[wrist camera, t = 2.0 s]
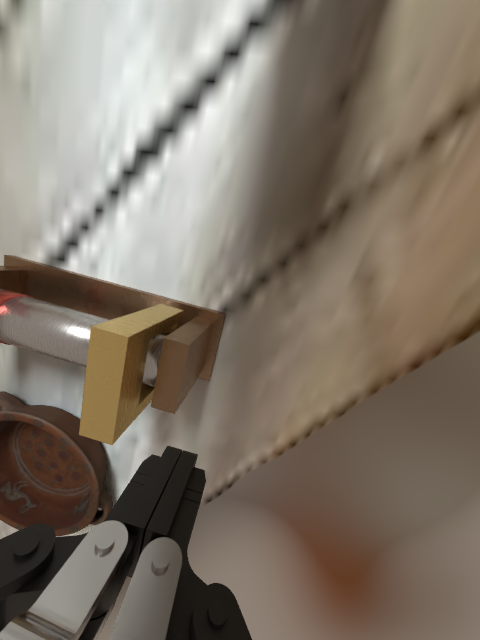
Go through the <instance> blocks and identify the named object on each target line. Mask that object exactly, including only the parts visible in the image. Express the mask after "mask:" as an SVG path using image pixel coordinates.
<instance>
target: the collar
mask: <svg viewBox="0 0 480 640" xmlns="http://www.w3.org/2000/svg"><path fill="white" fill-rule="evenodd" d="M183 311H184V310H181V309H177V308H174V307H170V306H166V305H163V304H159V305H156V306H153V307H150V308H147V309H144V310H140V311H137V312H134V313H131V314H128V315H125V316H122V317H119V318H116V319H112V320H109V321H106V322H103V323H100V324H97V325H94V326H91V330H90V339H89V348H88V357H87V366H86V375H85V384H84V393H83V402H82V411H81V421H80V430H79V435H81V436H85V437H88V438H91V439H94V440H97V441H101V442H104V443H107V444H110V445H113V444H114V442H115V441H116V440H117V439H118V438H119V437H120V436H121V435H122V433H123V432H124V431H125V430H126V429H127V428H128V427H129V425H130V424H131V423H132V422H133V421H134V420H135V419H136V417H137V416H138V415H139V414H140V413H141V412H142V411H143V410H144V408H145V407H146V406H147V405H148V404H149V403H150V402H151V400H152V399H153V394H154V388H155V387H154V386H150V385H147V384H143V383H142V381H143V375H144V369H145V364H146V358H147V352H148V346H149V340H150V339H152V338H153V337H155V336H157V335H158V334H163V335H166V336H168V335H169V334H171V333H172V332H174V331H175V330H177V329H178V328H180V326H181V321H182V316H183Z"/></svg>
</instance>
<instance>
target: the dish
mask: <svg viewBox="0 0 480 640" xmlns="http://www.w3.org/2000/svg"><path fill="white" fill-rule="evenodd" d="M80 421H81V420H80V419H78V418H77V417H75V416H73V415H72V414H70V413H68V412H66V411H64V410H62V409H60V408H56V407H52V406H45V405H32V406H30V405H25V404H23V403H22V402H21V401H20V400H19V399H17V398H16V397H15V396H13V395H11V394H9V393H7V392H0V520H1V521H3V522H5V523H6V524H8V525H10V526H11V527H14V528H16V529H18V530H21V529H23V528H26V527H28V526H31V525H35V524H47V525H49V526H51V527H52V528H53V529H54V531H55V535H56V536H63V535H68V534H72V533H75V532H77V531H80V530H81V529H83V528H85V527H86V526H88V525H89V524H93V525H98V524H100V523H102V522H103V521H104V520H105V519H106V517H107V516H108V515H109V513H110V512H111V510H112V506H113V501H112V498H111V496H110V495H109V493H108V492H107V490H106V489H105V486H104V479H105V474H106V458H105V454H104V451H103V448H102V446H101V444H100V442H99V441H97V440H94V439H91V438H88V437H85V436H81V435H79V430H80ZM98 507H100V508H102V510H98Z"/></svg>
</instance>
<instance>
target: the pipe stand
mask: <svg viewBox="0 0 480 640" xmlns="http://www.w3.org/2000/svg"><path fill="white" fill-rule="evenodd" d="M159 304H163V305H166V306H170V307H174V308H177V309H181V310H184V311H183V316H182V321H181V326H180V328H178V329H177V330H175V331H174V332H172V333H171V334H169V335H168V336H166V335H163V334H158V335H157V336H155V337H153V338H152V339H150V340H149V346H148V352H147V358H146V364H145V369H144V375H143V381H142V383H143V384H147V385H150V386H154V387H155V388H154V394H153V399H152V404H151V407H154V408H157V409H160V410H164V411H167V412H170V413H174V414H175V412H176V411H177V409H178V408H179V406H180V405H181V403H182V401H183V400H184V398H185V397H186V395H187V394H188V392H189V390H190V389H191V387H192V386H193V384H194V383H195V381H196V379H197V378H201V379H204V380H208V381H209V379H210V376H211V372H212V368H213V364H214V360H215V356H216V352H217V348H218V344H219V340H220V336H221V331H222V327H223V323H224V319H225V315H226V314H225V313H221V312H218V311H214V310H210V309H207V308H203V307H199V306H196V305H192V304H188V303H185V302H181V301H177V300H174V299H170V298H166V297H163V296H159V295H155V294H152V293H148V292H144V291H141V290H137V289H133V288H130V287H126V286H122V285H119V284H115V283H111V282H108V281H104V280H100V279H97V278H93V277H89V276H86V275H82V274H78V273H75V272H71V271H67V270H64V269H60V268H56V267H53V266H49V265H45V264H42V263H38V262H34V261H31V260H27V259H23V258H20V257H16V256H12V255H4V266H0V343H4V344H8V345H14V346H17V347H21V348H24V349H28V350H31V351H34V352H38V353H41V354H45V355H48V356H51V357H55V358H58V359H62V360H65V361H68V362H72V363H75V364H79V365H82V366H85V367H86V366H87V357H88V348H89V339H90V330H91V326H94V325H97V324H100V323H103V322H106V321H109V320H112V319H116V318H119V317H122V316H125V315H128V314H131V313H134V312H137V311H140V310H144V309H147V308H150V307H153V306H156V305H159Z"/></svg>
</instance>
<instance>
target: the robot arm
mask: <svg viewBox="0 0 480 640" xmlns="http://www.w3.org/2000/svg"><path fill="white" fill-rule="evenodd" d="M197 456H198V455H197V454H194V453H191V452H188V451H184V450H183V452H182V450H181V449H177V448H174V447H171V446H167V447H166V449H165V451H164V453H163V454H162V456H161V457H160V456H156V455H153V454H152V455H151V456H150V457H148V458H147V459H146V460H144V461H143V462H142V464H141V465H140V467H139V468H138V470H137V471H136V474H134V476H133V478H132V479H131V481H130V483H129V484H128V485H127V487H126V488H125V490H124V491H123V493H122V495H121V496H120V498H119V499H118V501H117V502H116V504H115V505H114V507H113V508H112V510H111V512H110V513H109V515H108V516H107V517H106V519H105V520H104V521H103V522H102V523H100V524H98V525H97V526H95V527H94V528H93V529H92V530H90V532H88V533H85V534H82V535H77V536H65V537H56V535H55V531H54V529H53V528H52V527H51V526H49V525H47V524H35V525H31V526H28V527H26V528H23V529H21V530H19V531H17V532H15V533H13V534H11V535H9V536H7V537H4V538H2V539H0V640H97V639H98V636H99V635H100V633H101V631H102V629H103V627H104V625H105V623H106V621H107V619H108V617H109V615H110V613H111V611H112V609H113V607H114V605H115V602H116V599H117V597H118V595H119V592H120V590H121V588H122V586H123V584H124V581H125V579H126V577H127V576H129V577H131V578H132V579H131V582H130V585H129V587H128V590H127V593H126V595H125V598H124V601H123V604H122V606H121V609H120V612H119V614H118V617H117V620H116V622H115V625H114V627H113V630H112V633H111V636H110V638H109V640H252V639H251V636H250V633H249V631H248V629H247V626H246V623H245V620H244V618H243V616H242V613H241V610H240V608H239V605H238V603H237V600H236V598H235V596H234V594H233V593H232V592H231V591H230V589H228V588H227V587H226V586H224V585H222V584H219V583H213V584H210V585H206V584H205V583H204V582H203V581H202V580H201V579H199V577H197V575H196V574H195V573H194V572H193V570H192V569H191V567H190V564H189V561H188V557H187V548H188V544H189V541H190V537H191V533H192V530H193V526H194V523H195V519H196V516H197V512H198V509H199V505H200V502H201V498H202V494H203V490H204V487H205V483H206V478H205V471H204V470H202V469H199V468H195V464H196V460H197Z"/></svg>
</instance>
